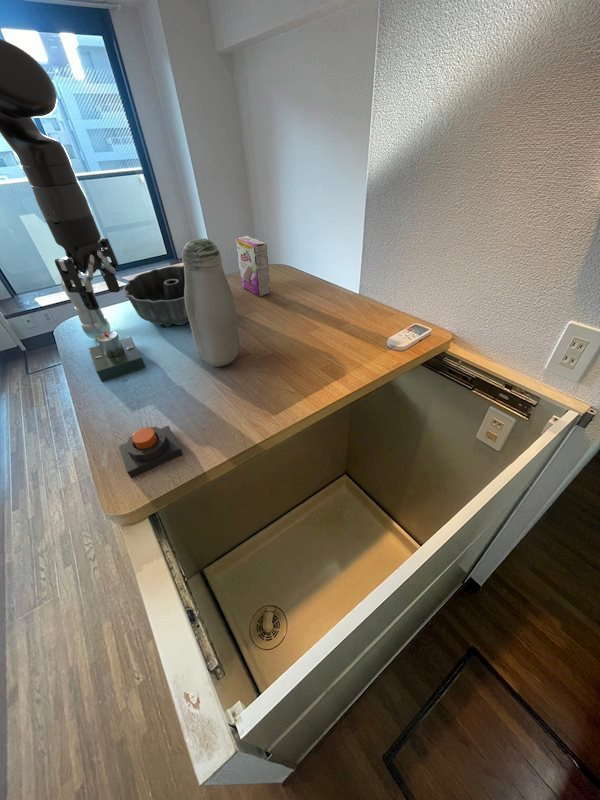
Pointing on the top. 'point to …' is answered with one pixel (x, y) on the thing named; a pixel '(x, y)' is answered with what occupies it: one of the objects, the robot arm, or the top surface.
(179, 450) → the button block
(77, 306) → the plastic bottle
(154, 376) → the top surface
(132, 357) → the panel
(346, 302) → the top surface
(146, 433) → the button
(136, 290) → the bundt pan
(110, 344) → the dial
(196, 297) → the off-white tall tapered cylinder
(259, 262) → the candy bar box
